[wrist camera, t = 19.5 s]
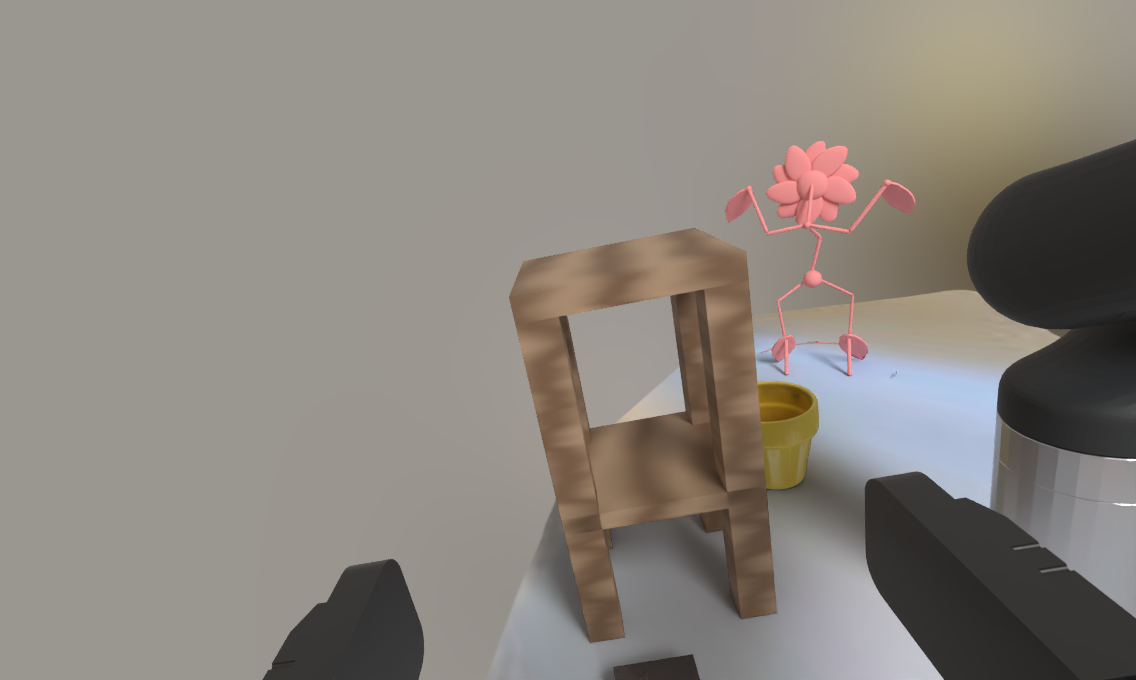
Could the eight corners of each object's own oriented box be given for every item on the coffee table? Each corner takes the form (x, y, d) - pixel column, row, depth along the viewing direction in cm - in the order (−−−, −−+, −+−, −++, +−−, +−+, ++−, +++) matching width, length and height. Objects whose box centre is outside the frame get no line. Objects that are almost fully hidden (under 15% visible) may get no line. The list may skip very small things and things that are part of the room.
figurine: (916, 378, 76) (919, 123, 66) (733, 376, 88) (712, 161, 78) (906, 342, 89) (907, 123, 78) (747, 345, 101) (731, 156, 91)
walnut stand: (726, 509, 57) (694, 227, 48) (776, 613, 44) (746, 251, 34) (583, 534, 58) (523, 261, 48) (590, 642, 45) (509, 296, 35)
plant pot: (709, 477, 64) (700, 405, 60) (762, 441, 69) (757, 373, 66) (785, 513, 55) (779, 432, 52) (840, 470, 60) (837, 393, 57)
